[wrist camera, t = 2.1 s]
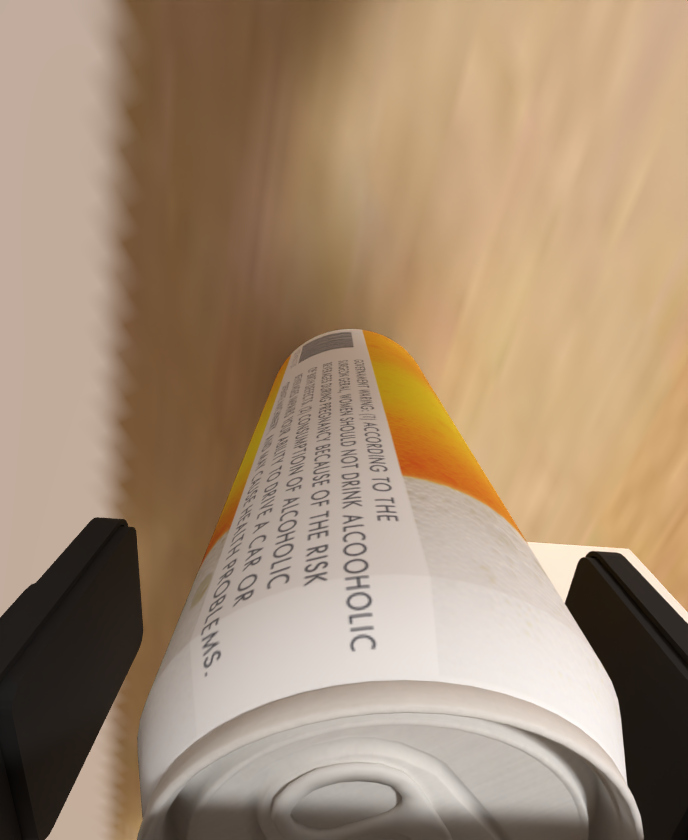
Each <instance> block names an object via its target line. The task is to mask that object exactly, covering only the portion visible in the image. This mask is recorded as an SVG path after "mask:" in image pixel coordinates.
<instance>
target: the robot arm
mask: <svg viewBox="0 0 688 840" xmlns="http://www.w3.org/2000/svg"><path fill="white" fill-rule="evenodd" d="M565 605H566V607H567V608H568V610H569V612H570V613H571V615H572V616H573V618H574V620H575V621H576V623H577V625H578V626H579V628H580V629H581V631H582V633H583V634H584V636H585V638H586V639H587V641H588V642H589V644H590V646H591V647H592V649H593V651H594V652H595V654H596V655H597V657H598V659H599V660H600V662H601V664H602V665H603V667H604V669H605V671H606V672H607V674H608V676H609V678H610V680H611V681H612V684H613V687H614V690H615V693H616V696H617V698H618V703H619V709H620V715H621V724H622V734H623V745H624V756H625V767H626V777H627V786H628V788H629V789H630V791H631V793H632V795H633V797H634V799H635V802H636V805H637V808H638V810H639V813H640V816H641V821H642V827H643V834H644V840H688V623H687V622H686V621H685V620H684V619H683V618H682V617H681V616H680V615H679V614H678V613H677V612H676V611H675V610H674V608H673V607H672V606H671V605H670V604H669V603H668V602H667V601H666V600H665V599H664V598H663V597H662V596H661V595H660V594H659V593H658V592H657V590H656V589H655V588H654V587H653V586H652V585H651V584H650V583H649V582H648V581H647V580H646V579H645V578H644V577H643V576H642V575H641V573H640V572H639V571H638V570H637V569H636V568H635V567H634V566H633V565H632V564H631V563H630V562H629V561H628V560H627V559H626V558H625V557H624V556H623V555H622V554H620V553H617V552H602V551H591V552H589V553H588V554H587V555H586V557H583V558H581V559H580V560H579V561H578V564H577V567H576V570H575V573H574V576H573V579H572V582H571V585H570V588H569V592H568V595H567V598H566V601H565ZM142 636H143V621H142V607H141V593H140V579H139V564H138V550H137V536H136V530H135V528H134V527H128V524H127V522H126V520H124V519H112V518H94V519H92V520H91V521H90V522H89V523H88V524H87V526H86V527H85V528H84V529H83V530H82V531H81V532H80V534H79V535H78V536H77V537H76V538H75V539H74V540H73V541H72V543H71V544H70V545H69V546H68V547H67V548H66V549H65V551H64V552H63V553H62V554H61V555H60V556H59V557H58V559H57V560H56V561H55V562H54V563H53V564H52V565H51V566H50V568H49V569H48V570H47V571H46V572H45V573H44V574H43V575H42V577H41V578H40V579H39V580H38V581H37V582H36V583H35V584H32V585H30V586H29V587H28V588H27V589H26V590H25V591H24V592H23V593H22V594H21V595H20V596H19V597H18V598H17V600H16V601H15V602H14V603H13V604H12V605H11V606H10V607H9V609H8V610H7V611H6V612H5V613H4V614H3V615H2V616H1V617H0V840H45V839H46V838H47V837H48V835H49V834H50V832H51V830H52V828H53V827H54V825H55V822H56V820H57V818H58V816H59V814H60V812H61V810H62V808H63V806H64V804H65V802H66V800H67V797H68V795H69V793H70V791H71V789H72V787H73V785H74V783H75V781H76V779H77V777H78V775H79V772H80V770H81V768H82V766H83V764H84V762H85V760H86V758H87V756H88V754H89V752H90V750H91V748H92V746H93V743H94V741H95V739H96V737H97V735H98V733H99V731H100V729H101V727H102V725H103V723H104V721H105V719H106V716H107V714H108V712H109V710H110V708H111V706H112V704H113V702H114V700H115V698H116V696H117V694H118V692H119V689H120V687H121V685H122V683H123V681H124V679H125V677H126V675H127V673H128V671H129V669H130V667H131V665H132V662H133V660H134V658H135V656H136V654H137V652H138V650H139V647H140V645H141V641H142Z"/></svg>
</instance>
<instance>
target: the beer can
mask: <svg viewBox="0 0 688 840" xmlns="http://www.w3.org/2000/svg"><path fill="white" fill-rule="evenodd" d="M137 741H138V764H139V777H140V790H141V803H142V817H143V821H142V824H141V827H140V830H139V833H138V837H137V840H644V834H643V827H642V821H641V816H640V813H639V810H638V808H637V805H636V802H635V799H634V797H633V795H632V793H631V791H630V789H629V788H628V786H627V777H626V767H625V756H624V745H623V734H622V724H621V715H620V709H619V703H618V698H617V696H616V693H615V690H614V687H613V684H612V681H611V680H610V678H609V676H608V674H607V672H606V671H605V669H604V667H603V665H602V664H601V662H600V660H599V659H598V657H597V655H596V654H595V652H594V651H593V649H592V647H591V646H590V644H589V642H588V641H587V639H586V638H585V636H584V634H583V633H582V631H581V629H580V628H579V626H578V625H577V623H576V621H575V620H574V618H573V616H572V615H571V613H570V612H569V610H568V608H567V607H566V605H565V603H564V602H563V600H562V599H561V597H560V595H559V594H558V592H557V590H556V589H555V587H554V586H553V584H552V582H551V581H550V579H549V577H548V576H547V574H546V573H545V571H544V569H543V568H542V566H541V564H540V563H539V561H538V560H537V558H536V556H535V555H534V553H533V551H532V550H531V548H530V547H529V545H528V543H527V542H526V540H525V538H524V537H523V535H522V534H521V532H520V530H519V529H518V527H517V525H516V524H515V522H514V521H513V519H512V517H511V516H510V514H509V512H508V511H507V509H506V508H505V506H504V504H503V503H502V501H501V499H500V498H499V496H498V495H497V493H496V491H495V490H494V488H493V486H492V485H491V483H490V482H489V480H488V478H487V477H486V475H485V473H484V472H483V470H482V469H481V467H480V465H479V464H478V462H477V460H476V459H475V457H474V456H473V454H472V452H471V451H470V449H469V447H468V446H467V444H466V443H465V441H464V439H463V438H462V436H461V434H460V433H459V431H458V430H457V428H456V426H455V425H454V423H453V421H452V420H451V418H450V417H449V415H448V413H447V412H446V410H445V409H444V407H443V405H442V404H441V402H440V400H439V399H438V397H437V396H436V394H435V392H434V391H433V389H432V387H431V386H430V384H429V383H428V381H427V379H426V378H425V376H424V374H423V373H422V371H421V370H420V368H419V366H418V365H417V363H416V362H415V360H414V359H413V358H412V356H411V355H410V354H409V353H408V352H407V351H406V350H405V349H404V348H402V347H401V346H400V345H399V344H397V343H396V342H394V341H393V340H391V339H389V338H387V337H385V336H383V335H381V334H378V333H375V332H371V331H367V330H361V329H341V330H334V331H330V332H326V333H323V334H321V335H318V336H316V337H314V338H312V339H310V340H308V341H306V342H305V343H303V344H302V345H301V346H299V347H298V348H297V349H296V350H295V351H294V352H293V353H292V354H291V355H290V356H289V357H288V358H287V359H286V361H285V362H284V364H283V365H282V367H281V368H280V370H279V372H278V374H277V376H276V379H275V381H274V384H273V386H272V389H271V391H270V394H269V396H268V399H267V401H266V404H265V406H264V409H263V411H262V414H261V416H260V419H259V421H258V423H257V426H256V428H255V431H254V433H253V436H252V438H251V441H250V443H249V446H248V448H247V451H246V453H245V456H244V458H243V461H242V463H241V466H240V468H239V471H238V473H237V476H236V478H235V481H234V483H233V486H232V488H231V491H230V493H229V496H228V498H227V501H226V503H225V506H224V508H223V511H222V513H221V516H220V518H219V521H218V523H217V526H216V528H215V531H214V533H213V536H212V538H211V541H210V543H209V546H208V548H207V551H206V553H205V556H204V558H203V561H202V563H201V566H200V568H199V571H198V573H197V576H196V578H195V580H194V583H193V585H192V588H191V590H190V593H189V595H188V598H187V600H186V603H185V605H184V608H183V610H182V613H181V615H180V618H179V620H178V623H177V625H176V628H175V630H174V633H173V635H172V638H171V640H170V643H169V645H168V648H167V650H166V653H165V655H164V658H163V660H162V663H161V665H160V668H159V670H158V673H157V675H156V678H155V680H154V683H153V685H152V688H151V690H150V693H149V695H148V698H147V700H146V703H145V706H144V709H143V712H142V715H141V718H140V724H139V731H138V737H137Z"/></svg>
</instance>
